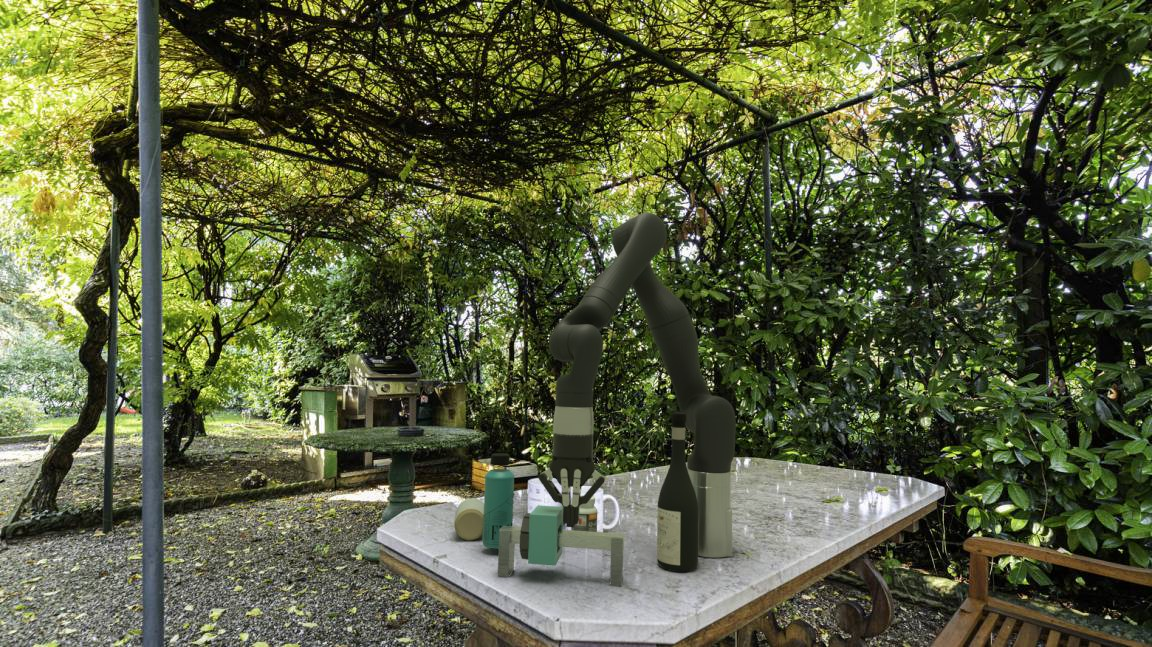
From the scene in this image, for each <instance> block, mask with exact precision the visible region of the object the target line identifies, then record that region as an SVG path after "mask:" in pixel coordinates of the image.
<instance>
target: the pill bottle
mask: <svg viewBox="0 0 1152 647" xmlns="http://www.w3.org/2000/svg"><path fill="white" fill-rule="evenodd" d="M584 495H585V494H581V496H584ZM581 496H580V497H581ZM595 504H596V496H595V495H593V496H592V498H591V499H590V500H589V501H588V503H586V504H582V505H580V507H579V521H578V523H577V524H575V527H574V528H573V527H570V528H571V530H575V531H590V532H598V509H597V508H596V506H595Z"/></svg>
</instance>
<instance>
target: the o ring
mask: <svg viewBox="0 0 1152 647" xmlns="http://www.w3.org/2000/svg"><path fill="white" fill-rule="evenodd" d="M530 513H531V512H526V513H525V514H524V515H523V518H522V521H521V525H520V527H521V530H520V532H521V533H520V544H519V553H520V557H521V559H522V560H528V547H529V517H530Z"/></svg>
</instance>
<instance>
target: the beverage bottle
mask: <svg viewBox="0 0 1152 647" xmlns="http://www.w3.org/2000/svg"><path fill="white" fill-rule="evenodd" d="M510 457H511V456H510V454H509V453H504V452H503V453H501V452H498V453H491V456H490V461H489V462H490V465H493V466H508V465H510V464H511V460H510V459H511V458H510ZM515 489H516V488H515V474H514V473H513V472H512V471H511V470H510V469H506V468H492V469H490V470H489V471H487V472H486V473H485V475H484V495H483V496H484V498H483V499H484V500H483V503H484V517H483V533H482V538H481V539H482V545H483V547H484V548H485V547H486V548H490V549H499V532H500V528H501V527H502V526H514V499H515Z"/></svg>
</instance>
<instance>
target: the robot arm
mask: <svg viewBox="0 0 1152 647" xmlns="http://www.w3.org/2000/svg"><path fill="white" fill-rule="evenodd" d="M667 238H668V231H667V227H666V225H665V223H664V221H663V220H662V218H660V217H659V216H658V215H656V213H652V212H643V213H640V214H637V215H635V216H634V217H633V216H632V218H630V219H628V220H626V221H625V222H623V223H621V224H619V225H618V226H616V227H615V229H614V230H613V232H612V236H611V239H612V247H613V250H614V253H615V255H616V257H615V259H613V261H612V262H611V263H610V264H609V265H607V267H606V268H605V269H604V270H603V271H602V272H601V273H600V274H599V275H598V276H597V278H596V279H594V280H593V281H594V282H592V283H591V285H590V287H589V288H588V290H587V291H586V292H585V293H584V295H583V297H582V298H581V300H580V302H579V304H578V305H576V306H575V307H574V308H573V309H572V310H571V311H570V312H569V313H567V315H565V316H564V317H563V318H562V319H561V320H560V321H559V322H558V323H557V325H556V326H555V327H554V329H553V330H552V332H551V334H550V337H549V341H548V347H549V352H550V354H551V355H552V357H553V358H554V359H556V360H557V361H559V362H564V363H566V362H567V363H572V362H573V363H572V366H571V369H570V371H569V372H568V373H566V374H562V375H560V376H559V377H558V378H557V379H556V383H555V408H554V414H553V424H552V430H553V431H552V432H553V433H552V434H553V435H552V458H551V461H550V463H549V467H548V468H547V469H546V470H545V471H542V472H541V473H539V475H538V477H537V479H538V481H539V482H540V483H541V485H542V486H543V487H544V488H545V490H546V492H547V493H548V495H549V496H550V498H551V499H552V500H553V502H554V503H559V504H561V505H562V507H563V525H565V526H566V528H571V527H573V528H574V527H575V524H577V523H578V521H579V507H580V505H582V504H586V503H588V501H589V500H590V499H591V498H592V496H595V494H596V493H598V492H597V491H598V490H599V489H600V488H601V487H602V486H603V485H604V483H605V481H606V480H607V478H606V475H604V474H601V473H600V472H599V471H597V470H596V464H595V462H594V426H595V425H594V424H595V423H594V422H595V421H594V411H593V410H594V409H593V406H594V404H593V402H594V384H595V380H596V378H597V374H598V371H599V366H600V363H601V359H602V356H603V350H604V342H603V341H604V340H603V337H602V334H601V331H600V330H601V329H603V328H605V327H606V326H608V324H609V323H610V322H611V321H612V319H613V317H614V315H615V313H617V310H618V309H619V306H620V305H621V304H622V301H623V300H624V298H625V297H626V295H627V294H628V292H629V290H630V289H631V287H632V289H633V291H634V293H635V296H636V299H637V300H638V302H639V304H640V307H641V310H642V312H643V314H644V317H645V320H646V323H647V325H648V328H649V331H650V334H651V336H652V338H653V341H654V344H655V346H656V348H657V349H658V353H659V355H660V357H661V360H662V363H663V364H664V367H665V369H666V372H667V374H668V376H669V378H670V381H671V384H672V386H673V389H674V392H675V396H676V401H677V404H678V408H679V411H680V413H685V414H686V424H685V428H687V430H689V431H690V432H691V433H692V434H694V446H693V451H692V452H691V453H690V454H689V455H688V456H687V459H686V460H687V461H686V466H687V470H688V473H689V476H690V479H691V482H692V484H693V487H694V490H695V493H696V497H697V502H698V557H704V558H724V557H725V558H726V557H733V510H732V508H731V504H732V503H731V502H732V500H731V499H732V497H731V494H732V492H731V490H732V489H731V486H732V485H731V484H732V483H731V481H732V480H731V478H732V474H731V470H732V462H733V459H734V458H735V454H736V453H735V450H736V429H737V423H736V422H737V420H736V414H735V410H734V407H733V405H732V404H731V403H730V402H729V400H727V399H725V398H724V397H721V396H717V395H712V394H711V392H710V390H709V388H708V386H707V383H706V381H705V379H704V375H703V374H702V371H701V367H700V366H701V365H700V357H699V356H700V355H699V353H700V352H699V351H700V350H699V340H698V334H697V331H696V328H695V326H694V323H693V320H692V319H691V318H692V317H691V315H690V313H689V310H688V309H687V307H686V304H684V303H683V302H682V300H680V298H679V297H678V296H676V294H675V293H673V292H672V291H671V290H670V289H669V288H668V287H666V285H664V284H663V283H662V282H661V281H660V279H659V278H658V277H657V274H656V273H655V271H654V269H653V267H652V265H651V261H652V260H653V259H654V258H655V257H656V256H657V254H659V253H660V252H661V250H663V248H664V246H666V245H665V244H666V242H667ZM553 476H554V477H553ZM591 477H592V479H591V484H592V485H591V486H590V488H589V489H588V490H587V491H586V492H585V493H584V494H583V495H584V496H581V495H582V494H581V492H582V488H583V486H584V485H585V484H586V483H587V481H588V480H589V479H590V478H591ZM554 478H555V480H556V482H557V483H558V484H559V485H560V487H561V492H560V491H559V490H560V489H558V488H557V486H556V485H555V484H554V482H553V479H554ZM571 494H572V495H571ZM580 496H581V497H580Z"/></svg>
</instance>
